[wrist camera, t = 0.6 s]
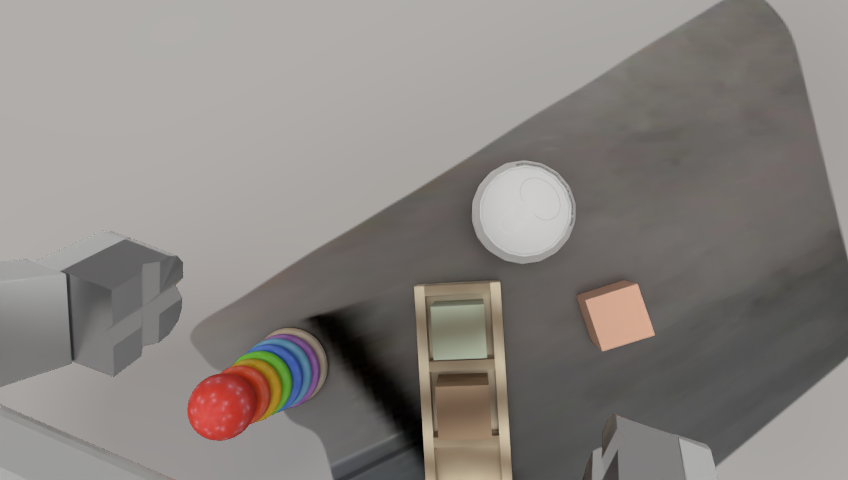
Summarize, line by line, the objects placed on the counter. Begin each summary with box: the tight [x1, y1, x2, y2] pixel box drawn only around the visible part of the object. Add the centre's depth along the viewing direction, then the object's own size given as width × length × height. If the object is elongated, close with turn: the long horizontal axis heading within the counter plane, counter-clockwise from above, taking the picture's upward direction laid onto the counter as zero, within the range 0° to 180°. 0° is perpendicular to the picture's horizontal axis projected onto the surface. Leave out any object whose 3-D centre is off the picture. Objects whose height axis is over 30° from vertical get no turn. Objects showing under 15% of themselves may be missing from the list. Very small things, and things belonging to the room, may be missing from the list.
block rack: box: [414, 280, 512, 480], centre depth 57 cm, size 24×8×6 cm, turn 3°
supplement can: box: [472, 160, 576, 264], centre depth 52 cm, size 8×8×15 cm
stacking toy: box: [188, 328, 328, 441], centre depth 52 cm, size 8×8×19 cm
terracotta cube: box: [576, 280, 655, 351], centre depth 56 cm, size 5×5×5 cm
